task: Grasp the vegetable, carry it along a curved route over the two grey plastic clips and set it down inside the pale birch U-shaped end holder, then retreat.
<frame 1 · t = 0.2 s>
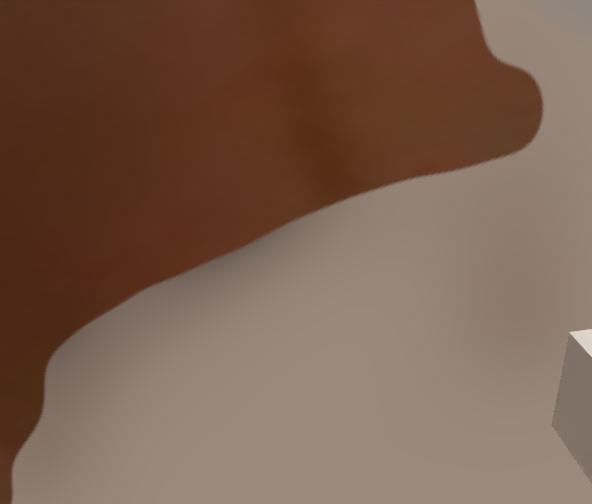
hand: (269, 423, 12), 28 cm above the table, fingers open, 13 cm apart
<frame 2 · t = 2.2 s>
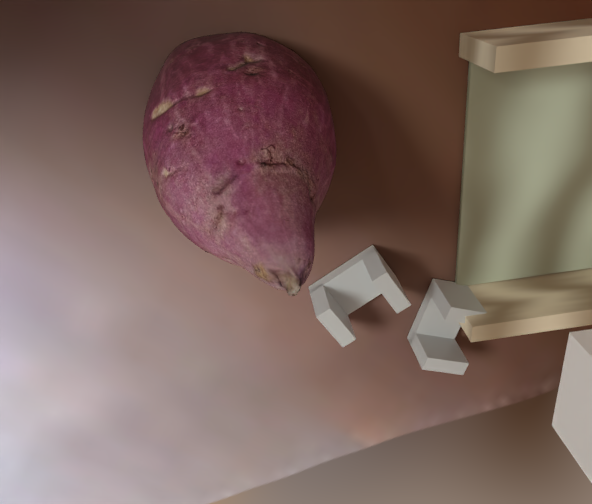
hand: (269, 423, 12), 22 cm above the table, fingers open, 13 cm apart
clip 2: (439, 311, 38), on the table
clip 1: (352, 281, 36), on the table
holder: (586, 166, 34), on the table
vegetable: (238, 127, 31), on the table
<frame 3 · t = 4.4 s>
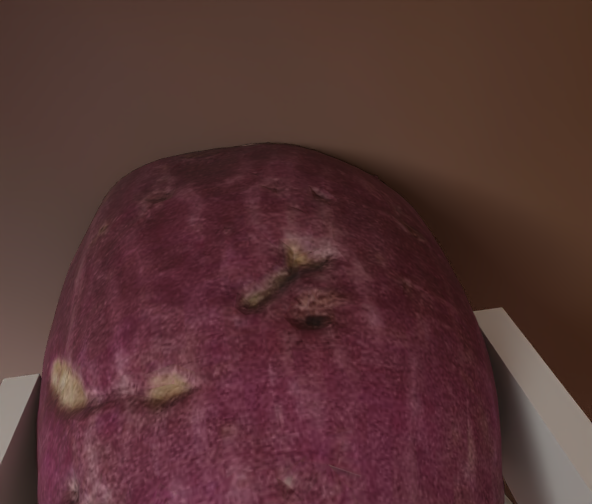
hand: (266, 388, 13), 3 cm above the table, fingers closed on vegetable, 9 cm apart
vegetable: (256, 315, 15), on the table, touching gripper
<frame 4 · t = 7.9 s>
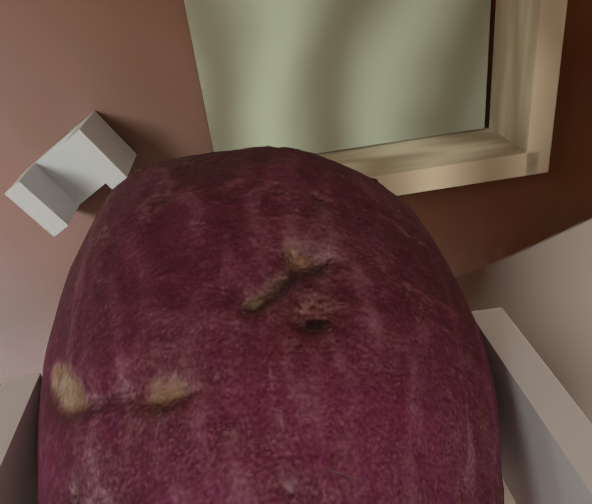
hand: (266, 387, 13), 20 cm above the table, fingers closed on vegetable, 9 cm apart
clip 1: (81, 161, 30), on the table
holder: (350, 0, 27), on the table
vegetable: (256, 318, 15), point 17 cm above the table, touching gripper
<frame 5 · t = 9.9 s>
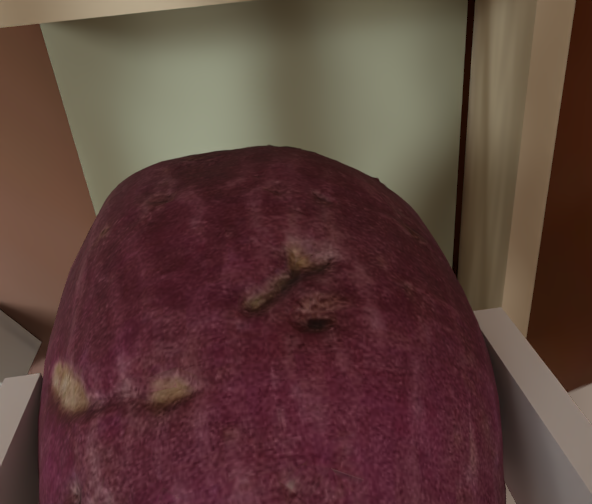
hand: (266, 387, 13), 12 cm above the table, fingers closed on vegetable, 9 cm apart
holder: (291, 185, 23), on the table
vegetable: (257, 317, 15), point 9 cm above the table, touching gripper
when the fingers open (5 cm above the table, at t = 11.7 s): vegetable drops 2 cm, resting on holder.
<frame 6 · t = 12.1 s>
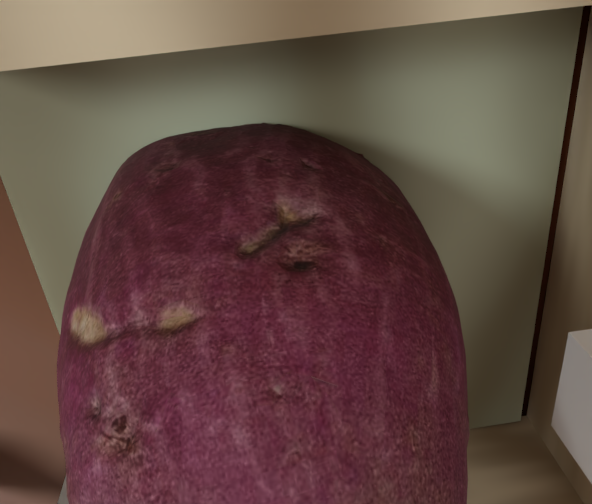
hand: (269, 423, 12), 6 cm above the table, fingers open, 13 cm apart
holder: (320, 274, 17), on the table
vegetable: (253, 284, 17), resting on holder
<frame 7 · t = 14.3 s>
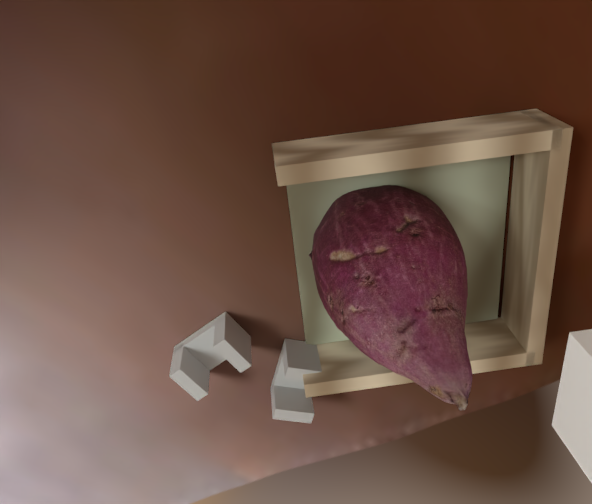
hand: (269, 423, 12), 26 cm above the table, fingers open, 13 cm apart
clip 2: (295, 366, 44), on the table
clip 1: (212, 341, 42), on the table
holder: (406, 245, 40), on the table
vegetable: (378, 249, 39), resting on holder
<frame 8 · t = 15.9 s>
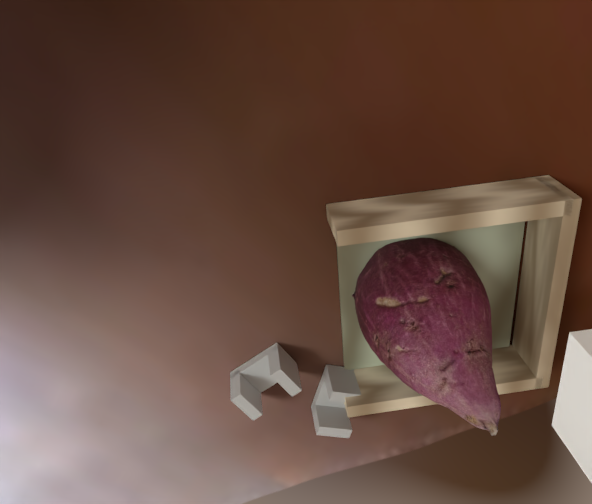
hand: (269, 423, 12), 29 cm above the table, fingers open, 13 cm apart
clip 2: (334, 387, 50), on the table
clip 1: (263, 367, 48), on the table
holder: (434, 286, 46), on the table
vegetable: (410, 290, 46), resting on holder
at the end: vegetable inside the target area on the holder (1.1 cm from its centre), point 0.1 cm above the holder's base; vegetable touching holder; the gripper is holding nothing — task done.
